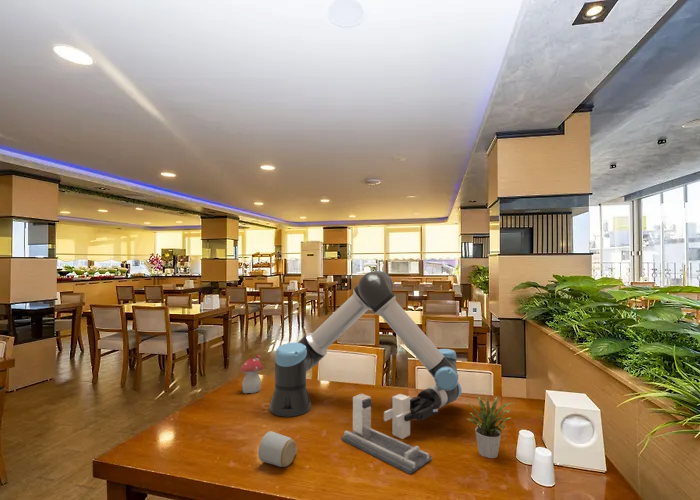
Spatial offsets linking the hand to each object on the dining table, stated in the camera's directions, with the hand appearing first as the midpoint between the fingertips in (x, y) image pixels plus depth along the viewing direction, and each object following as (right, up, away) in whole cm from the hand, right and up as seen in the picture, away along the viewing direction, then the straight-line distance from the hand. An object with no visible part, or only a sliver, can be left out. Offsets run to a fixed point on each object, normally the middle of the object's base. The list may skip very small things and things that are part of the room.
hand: (390, 418), depth 113 cm
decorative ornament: (-55, -8, +42) cm, 70 cm away
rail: (-3, -6, -6) cm, 9 cm away
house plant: (+28, -7, -9) cm, 30 cm away
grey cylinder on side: (-32, -6, -12) cm, 35 cm away
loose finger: (+4, -7, +4) cm, 9 cm away
